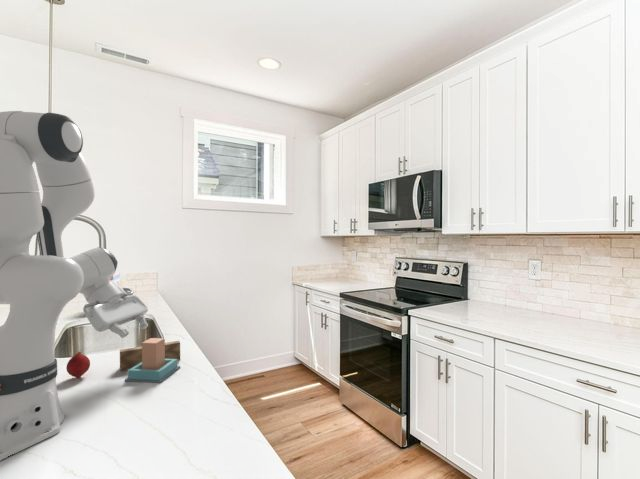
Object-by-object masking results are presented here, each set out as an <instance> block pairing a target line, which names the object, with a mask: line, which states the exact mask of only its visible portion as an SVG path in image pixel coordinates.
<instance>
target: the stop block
mask: <svg viewBox="0 0 640 479" xmlns="http://www.w3.org/2000/svg"><path fill="white" fill-rule="evenodd" d="M165 340H166V339H165V338H164V337H163V338H160V337H151V338H148V339H146V340H144V341H143V342H141V346H142V369H149V370H159V369H160V368H162V367H163V366H164V365H165V343H166V342H165Z"/></svg>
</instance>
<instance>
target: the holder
mask: <svg viewBox="0 0 640 479" xmlns="http://www.w3.org/2000/svg"><path fill="white" fill-rule="evenodd" d="M179 369H181V365H178V360H177V359H165V365H164V366H163V367H162V368H160V369H159V370H149V369H142V362H141V363H139V364H137V365H136V366H134V367H132V368H131V369H127V377H126V378H125V379H124V382H126V383H127V382H129V383H133V382H134V383H148V384H149V383H153V384H162V383H163V382H164V381H165V380H167V379H168V378H169V377H171V375H173V374H174V373H175V372H177V371H178V370H179Z"/></svg>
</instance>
